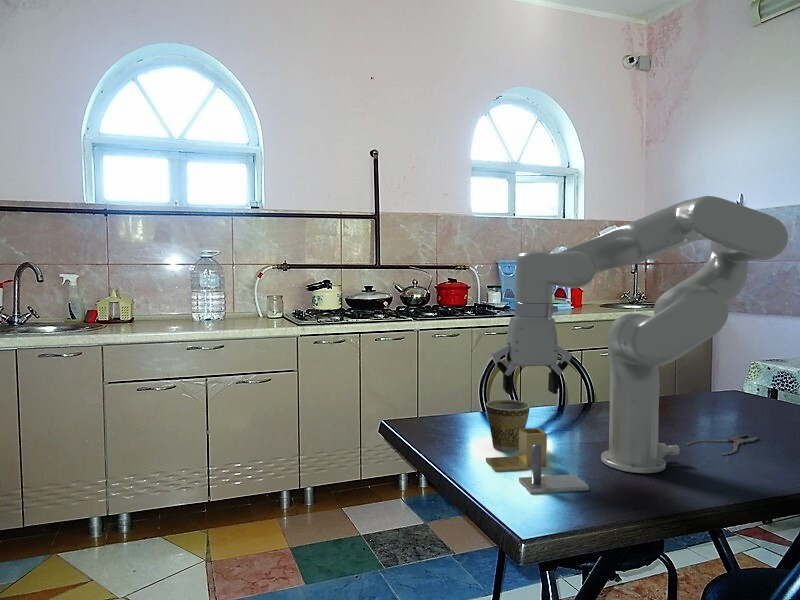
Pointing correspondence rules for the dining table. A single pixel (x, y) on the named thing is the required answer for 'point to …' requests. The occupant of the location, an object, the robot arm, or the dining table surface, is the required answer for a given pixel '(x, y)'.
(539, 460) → the steel leaf with pin
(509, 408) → the ceramic cup
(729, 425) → the dining table surface
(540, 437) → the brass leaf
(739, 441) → the pliers
